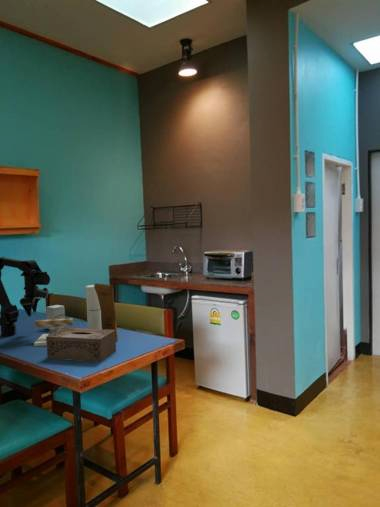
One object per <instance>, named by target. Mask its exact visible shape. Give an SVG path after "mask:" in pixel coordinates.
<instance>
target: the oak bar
mask: <svg viewBox="0 0 380 507" xmlns="http://www.w3.org/2000/svg"><path fill="white" fill-rule="evenodd" d="M55 326H65V327H69V326H70V327H71V326H74V318H73V317H71V318H69V317H68V318H65V319H49V320H47V319H35V321H34V328H47V327H55Z"/></svg>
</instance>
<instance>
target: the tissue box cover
mask: <svg viewBox="0 0 380 507" xmlns="http://www.w3.org/2000/svg"><path fill="white" fill-rule="evenodd" d="M46 342H47V346H46V354H47V355H46V358H52V359H51V360H63V359H71V360H70V361H78V360H83V361H82V362H94V361H97V362H96V363H102V362H104V361H105V360H106V359H107V358H109V357H110V356H111V355H113V354H114V353H116V352H117V343H116V342H117V341H116V336H115V330H102V328H101V329H88V328H75V327H74V328H73V327H72V328H71V327H65V328H61V330H59V331H57V332H55V333H53V334H51V335H48V336H46Z"/></svg>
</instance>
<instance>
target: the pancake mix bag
mask: <svg viewBox="0 0 380 507" xmlns="http://www.w3.org/2000/svg"><path fill="white" fill-rule="evenodd" d="M93 285H94V288H95V291H96V293H97V297H98V301H99V305H100V309H101V329H102V330H115V336H116V342H118V341H119V334H118V326H117V318H116V309H115V299H114V298H115V296H114V287H113V286H112V285H110V284H105V283H101V284H100V283H97V282H95V283H94V284H93Z"/></svg>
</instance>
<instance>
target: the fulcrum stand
mask: <svg viewBox="0 0 380 507" xmlns="http://www.w3.org/2000/svg"><path fill="white" fill-rule="evenodd" d="M61 329H62V328H59V326H55V327H51V328H50V329H49V333H43V334H41V335H40V337H38V338H37V339H36V340H35V342H34V343H33V345H34V347H44V346H45V347H47V342H46V336H48V335H51V334H53V333H55V332H57V331H59V330H61Z"/></svg>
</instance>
